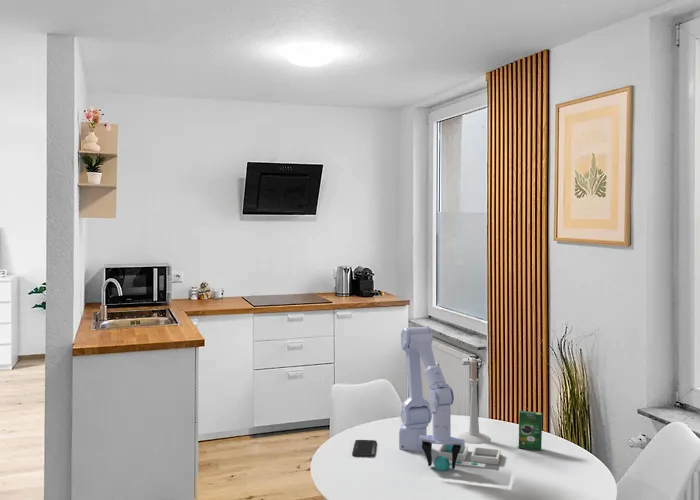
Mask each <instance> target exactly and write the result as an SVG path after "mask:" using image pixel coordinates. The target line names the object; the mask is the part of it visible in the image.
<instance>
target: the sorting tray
mask: <svg viewBox="0 0 700 500" xmlns="http://www.w3.org/2000/svg"><path fill="white" fill-rule="evenodd" d="M438 456H445V457H446V458H447V459H448V460H449V463H450V466H452V453H448V452H447V451H446V445H443V444H441V446H440V448H439V450H438V452H437V456H436V458H437V457H438ZM436 458H435V459H436ZM502 458H503V454H501V449H500V448H499V449H497V448H488V447H479V446H474V447H473V451H469V446H468V445H465V446H464V447H461V449H460V452H459V453H458V456H457V459H456V464H455V467H456V466H458V467H466V468H468V467H469V468H474V469H485V470H492V471H493V470H495V471H499V469H500V466H501V462H502Z"/></svg>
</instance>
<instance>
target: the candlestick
mask: <svg viewBox="0 0 700 500" xmlns="http://www.w3.org/2000/svg"><path fill="white" fill-rule="evenodd" d="M477 363H478V362H477V361H475V360H472V361H470V372H471V373H470V376H471V377H470V378H469V379H468V380H469V382H470V383H469V384H470V385H471V389H470V391H471V392H470V408H469V410H470V411H469V427H468V432H463V433H461V434H459V435H458V436H457V438H458V439H464V440H465V444H471V445H472V444H473V445H482V444H487V443H489V442H491V441H492V437H490V436H489V435H487V434H485V433H482V432H480V427H479V426H480V425H479V423H480V422H479V406H478V389H477V386H478V384H479V383H478V382H479V381H480V379H479V378H478V377H477V375H478V369H477V368H478V367H477V366H478V365H477Z"/></svg>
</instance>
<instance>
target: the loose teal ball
mask: <svg viewBox="0 0 700 500" xmlns="http://www.w3.org/2000/svg"><path fill="white" fill-rule="evenodd" d="M437 456H438V455H437ZM437 456H436V457H437ZM433 466H434V468H435V470H436V471H441V472H444V471H448V470H449V468H450V466H451V465H450V463H449V460H448V459H447V458H446V457H445V456H438V457H437V458H435V459H434V461H433Z"/></svg>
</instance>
